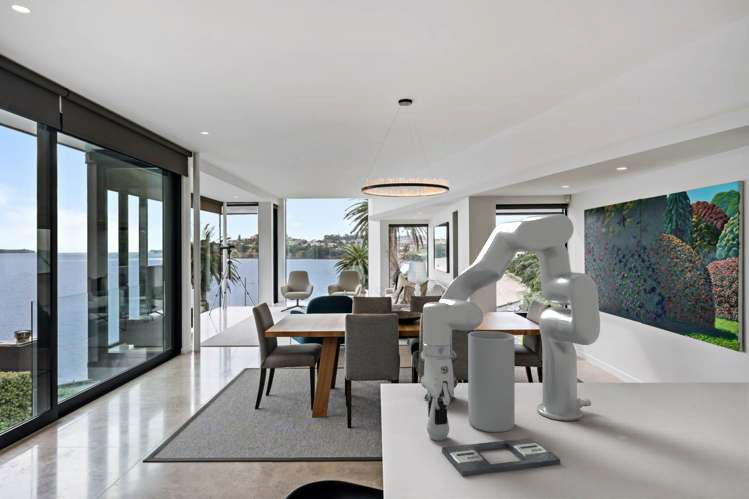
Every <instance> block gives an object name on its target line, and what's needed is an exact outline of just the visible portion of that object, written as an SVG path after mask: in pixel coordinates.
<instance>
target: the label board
mask: <svg viewBox="0 0 749 499" xmlns="http://www.w3.org/2000/svg"><path fill="white" fill-rule="evenodd" d="M501 449H502V450H503V449H507V450H508V451H510V453H511V454H513V455H514V456H516V457H517V458H518V459H519V460H515V461H507V462H497V463H491V462H489V461H488V459H486V457H485V456H483V455H482V454H481V453H480V452H484V451H492V450H501ZM441 454H442V455H444V457H445V458H446V459H447V460H448V461H449V463H450V464H451V465H452V467H454V469H456V471H457V472H458V474H460V476H461V477H462V478H463V477H473V476H481V475H487V474H489V475H490V474H495V473H502V472H503V473H504V472H511V471H520V470H529V469H535V468H536V469H537V468H541V467H542V468H543V467H549V466H559V465H561V458H560V457H558V456H556V455H555V454H554V453H552V452H551V451H549V450H548V449H547V448H546V447H544V446H542V445H541V444H540V443H539V442H538V441H536V440H534V439H533V438H531V437H525V438H517V439H515V438H513V439H508V440H498V441H497V440H496V441H490V442H489V441H488V442H480V443H479V442H478V443H470V444H462V445H453V446H452V445H451V446H444V447H443V446H442V447H441Z"/></svg>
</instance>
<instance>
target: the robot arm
mask: <svg viewBox="0 0 749 499" xmlns="http://www.w3.org/2000/svg"><path fill="white" fill-rule="evenodd" d="M574 228H575V227H574V223H573V222H572V220H571V218H569V217H568V216H567V215H565V214H561V213H555V214H554V213H553V214H544V215H543V214H541V215H531V216H527V217H523V218H522V219H520V220H514V221H504V222H501V223H500V224H497V225H496V226H495V227H494V229H493V231H492V232H491V234H490V236H489V237H488V239H487V241H486V242H485V244H484V245H483V247H482V248H481V250H480V252H479V253H478V255H477V257H476V258H475V260H474V262H473V263H472V264H471V265H470V266H468V267H467V268H466V269H465V270H463V271H462V272H461V273H460V274H458V276H456V277H455V278H454V279H453V280H452V281H451V282H450V284H449V285H448V286H447V288H446V289H445V291H444V292H443V294H442V296H441V298H440V299H439V301H430V302H426V303H425V304H424V305H423V307H422V351H423V356H424V357H425V363H424V364H423V366H424V367H423V375H424V386H425V388H424V389H425V390H427V393H426V394H428V401H427V404H428V406H427V413H428V414H427V416H428V418H429V415H430V409H431V404H432V399H433V397H432V396H431V394H432V395H434V396H435V399H436V409H435V424H436V425H441V424H447V417H448V408H449V404H450V403H451V402H450V398H449V396H450V397H454V396H455V388H454V378H453V371H454V366H453V367H452V360H451V357H452V350H453V331H454V330H455V331H456V330H457V331H458V330H459V331H473V330H476V329H477V328H479V327H480V325H481V324H482V323H483V321H484V312H483V310H482V308H481V307H480V306H479V305H478V304H476V303H475V302H472V301H469V300H468V299H469V298H470V297H471V296H472V295H473V294H474V293H476V292H477V291H480V290H481V289H483V288H486V287H488V286H491V285H493V284H495V283H497V282H499V281H500V280H501V279H502V278H503V277H504V275H505V273H506V271H507V270H508V268H509V266H510V264H511V262H512V261H513V260H514V258H515V256H516V254H517V253H533V252H535V254H536V256H537V260H538V266H539V277H540V288H541V290H540V291H541V294H542V297H543V299H544V300H546V301H547V302H550V303H553V304H558V305H563V306H564V305H565V306H569V307H570V308H567V307H561V306H550V307H548V308H546V309H544V310H543V311H542V312H541V313H540V315H539V319H538V327H539V333H540V338H541V345H542V347H541V348H542V402H541V403H540V404H538V405H537V406H536V412H537V413H538V414H540V415H542V416H543V417H546V418H548V419H552V420H557V421H565V422H566V421H567V422H568V421H577V420H580V419H582V418H583V417H584V416H583V415H584V414H583V411H582V410H581V409H582V408H583V407H590V406H592V401H591V400H590V399H582V398H580V397H578V355H577V350H576V347H575V345H574V344H576V345H581V346H591V345H592V344H594V343H595V342H597V340H598V338H599V337H600V333H601V320H600V318H601V317H600V303H599V293H598V287H597V284H596V283H595V280H594V279H593V278H592V277H591V276H590V275H589V274H586V273H583V272H576V271H575V272H573V271H572V268H571V263H570V256H569V252H568V249H567V247H566V246H565V244H567V243H568V242H569V241H570V240H571V238H572V237H573V235H574ZM439 394H442V395H443V396H440V395H439ZM439 399H443V400H442V401H440V403H439Z"/></svg>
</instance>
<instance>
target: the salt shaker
mask: <svg viewBox="0 0 749 499" xmlns="http://www.w3.org/2000/svg"><path fill="white" fill-rule="evenodd" d="M439 395H440V396H443V395H442V394H439ZM431 396H432V397H433V399H432V404H431V409H430V415H429V417H428V420H427V426H426V431H427V433H428V437H429V438H430V439H431V440H433V441H438V442H441V441H445V440H447V437H448V435H449V433H450V424H449V419H448V416H447V424H441V425H436V424H435V409H436V399H435V396H434V395H432V394H431ZM442 400H443V399H439V403H440V401H442Z"/></svg>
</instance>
